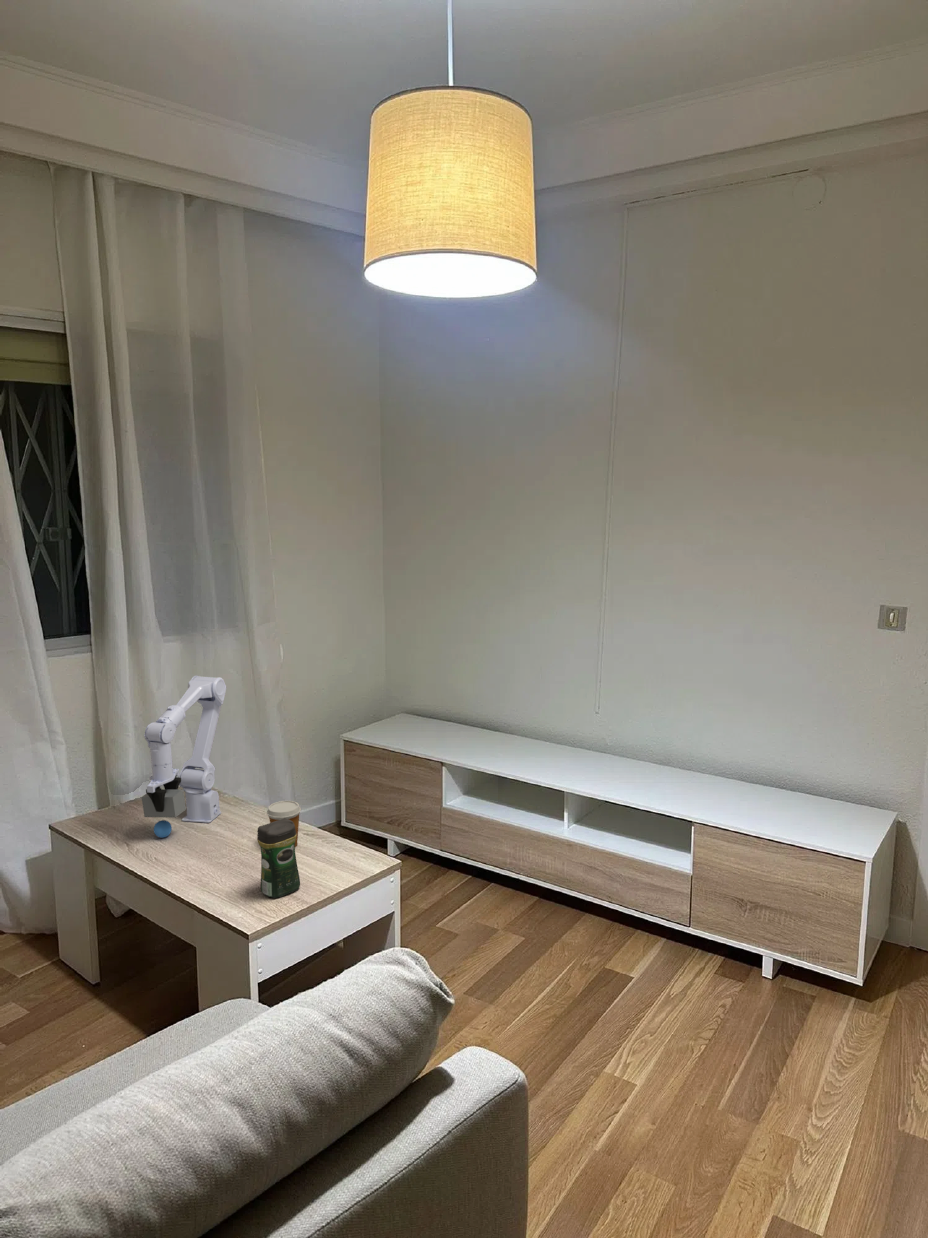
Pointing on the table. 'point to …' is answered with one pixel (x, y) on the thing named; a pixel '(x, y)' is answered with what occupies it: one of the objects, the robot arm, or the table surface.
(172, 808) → the grey rectangular box
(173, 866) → the table surface
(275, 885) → the coffee jar
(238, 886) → the table surface
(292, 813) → the disposable coffee cup
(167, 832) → the ball
